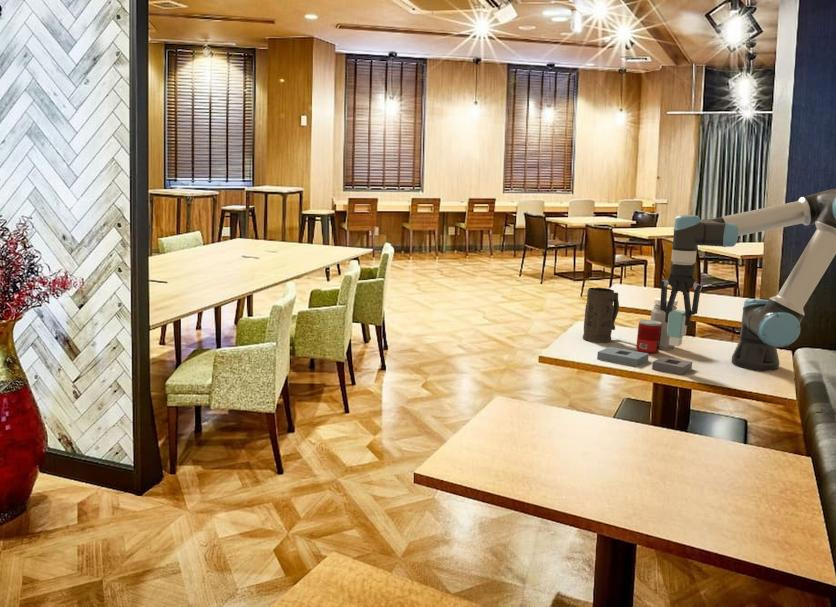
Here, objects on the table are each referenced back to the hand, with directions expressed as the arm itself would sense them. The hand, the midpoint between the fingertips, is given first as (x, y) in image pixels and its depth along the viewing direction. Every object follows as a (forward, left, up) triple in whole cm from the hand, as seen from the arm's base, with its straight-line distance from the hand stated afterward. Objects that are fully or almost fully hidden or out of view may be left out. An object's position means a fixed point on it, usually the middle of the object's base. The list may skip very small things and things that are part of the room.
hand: (676, 333), depth 258 cm
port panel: (+17, 0, -12) cm, 21 cm away
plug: (0, 0, -4) cm, 4 cm away
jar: (+14, -31, -12) cm, 36 cm away
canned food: (+15, -19, -12) cm, 27 cm away
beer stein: (+36, -26, -12) cm, 46 cm away
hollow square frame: (0, 0, -12) cm, 12 cm away
